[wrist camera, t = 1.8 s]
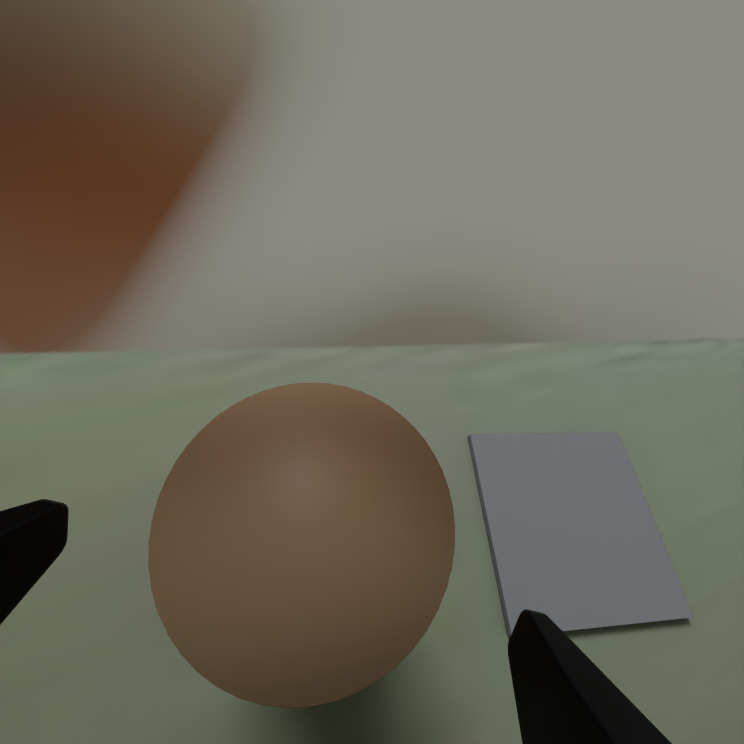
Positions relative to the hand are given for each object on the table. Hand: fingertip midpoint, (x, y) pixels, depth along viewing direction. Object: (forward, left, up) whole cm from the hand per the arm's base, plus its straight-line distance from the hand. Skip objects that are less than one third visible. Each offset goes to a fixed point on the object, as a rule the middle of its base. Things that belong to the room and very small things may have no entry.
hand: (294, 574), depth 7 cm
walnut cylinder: (+1, 0, -10) cm, 10 cm away
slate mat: (+2, -13, -10) cm, 17 cm away
